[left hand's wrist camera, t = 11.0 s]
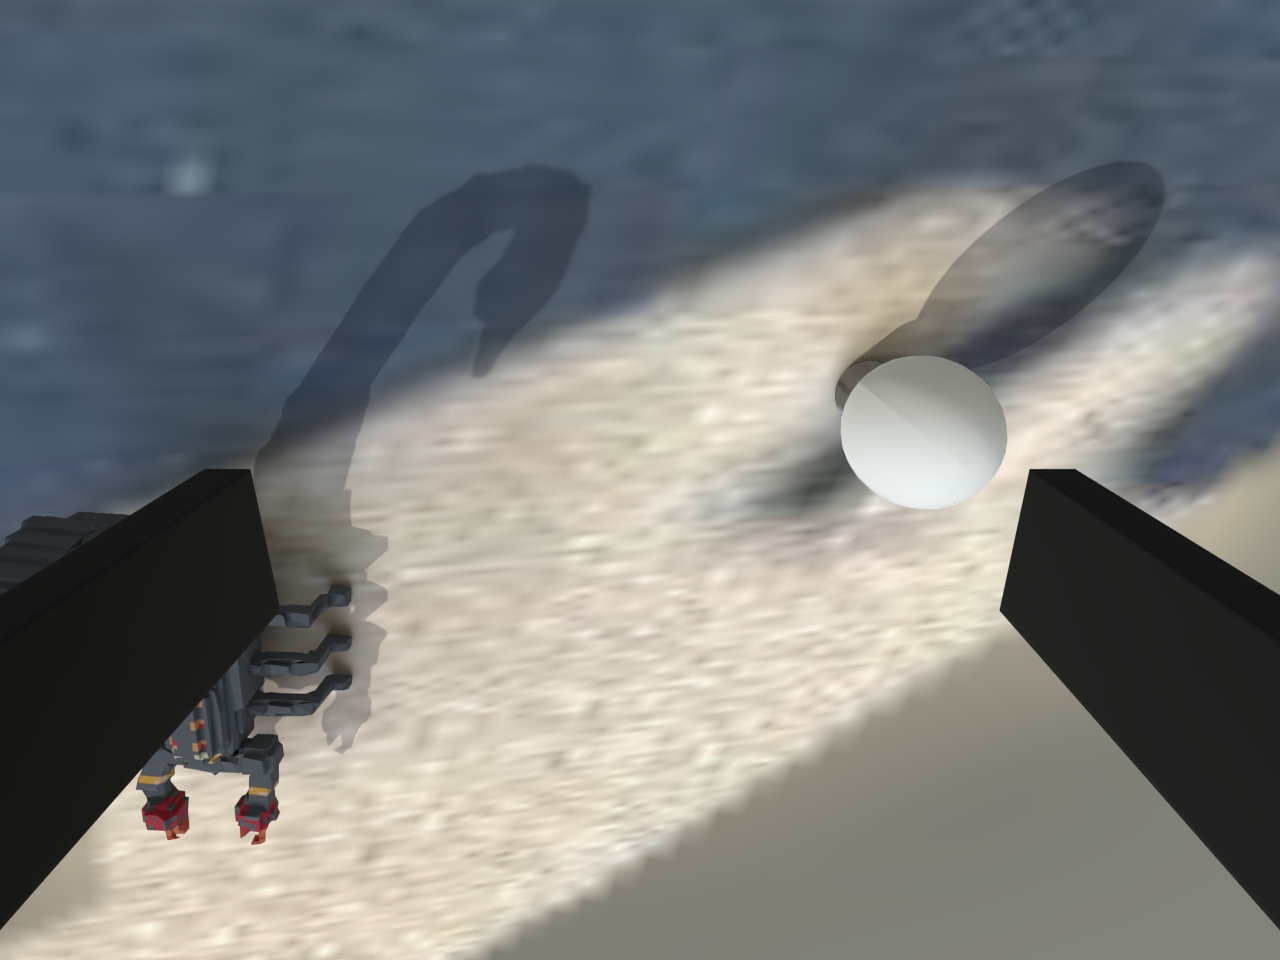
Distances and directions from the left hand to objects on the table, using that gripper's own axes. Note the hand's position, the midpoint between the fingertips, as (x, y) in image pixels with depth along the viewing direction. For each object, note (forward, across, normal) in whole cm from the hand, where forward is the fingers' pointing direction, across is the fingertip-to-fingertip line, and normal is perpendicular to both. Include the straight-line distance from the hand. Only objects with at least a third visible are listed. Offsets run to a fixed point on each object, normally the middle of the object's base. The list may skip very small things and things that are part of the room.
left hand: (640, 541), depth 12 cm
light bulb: (+27, -13, +4) cm, 30 cm away
